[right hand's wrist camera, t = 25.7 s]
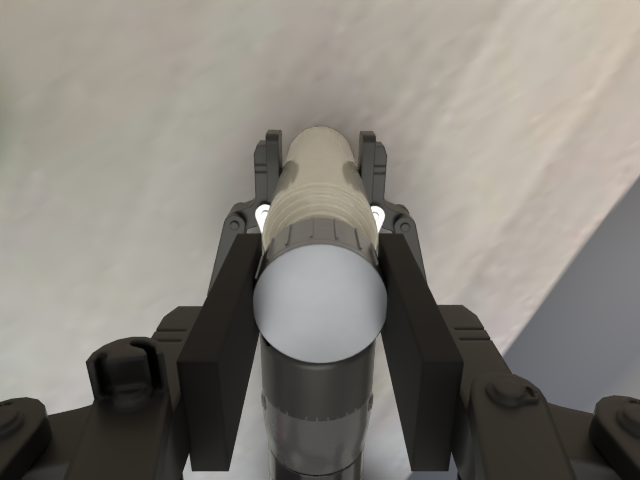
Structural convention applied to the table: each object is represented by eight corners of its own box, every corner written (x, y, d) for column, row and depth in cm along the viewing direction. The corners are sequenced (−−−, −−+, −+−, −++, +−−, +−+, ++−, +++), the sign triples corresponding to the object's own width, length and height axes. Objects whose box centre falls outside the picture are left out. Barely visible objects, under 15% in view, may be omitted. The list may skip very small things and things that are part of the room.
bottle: (363, 168, 32) (423, 313, 14) (310, 201, 33) (298, 379, 14) (330, 113, 30) (345, 192, 12) (275, 149, 31) (213, 273, 13)
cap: (392, 225, 14) (404, 252, 12) (368, 332, 15) (376, 372, 13) (266, 207, 14) (257, 231, 12) (254, 317, 15) (244, 356, 13)
